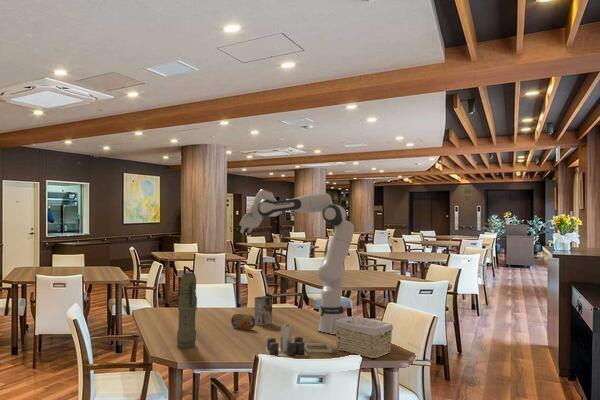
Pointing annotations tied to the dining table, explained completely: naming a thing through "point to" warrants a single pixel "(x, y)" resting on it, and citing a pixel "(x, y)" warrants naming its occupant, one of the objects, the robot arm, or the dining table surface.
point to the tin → (243, 321)
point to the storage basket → (363, 336)
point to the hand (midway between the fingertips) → (244, 232)
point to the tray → (318, 345)
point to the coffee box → (263, 310)
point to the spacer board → (292, 348)
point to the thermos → (187, 311)
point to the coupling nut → (285, 337)
